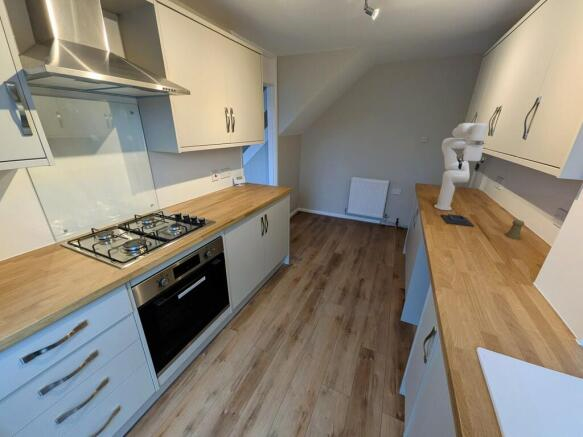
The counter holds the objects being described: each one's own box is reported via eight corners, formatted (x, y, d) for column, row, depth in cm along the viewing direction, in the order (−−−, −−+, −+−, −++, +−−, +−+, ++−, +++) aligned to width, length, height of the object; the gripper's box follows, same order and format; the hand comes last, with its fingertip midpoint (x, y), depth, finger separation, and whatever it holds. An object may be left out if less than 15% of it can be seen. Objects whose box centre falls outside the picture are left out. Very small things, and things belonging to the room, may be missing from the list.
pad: (441, 215, 181) (442, 212, 180) (465, 218, 176) (466, 214, 175) (446, 223, 166) (448, 219, 165) (473, 226, 162) (474, 222, 161)
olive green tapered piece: (521, 239, 145) (528, 222, 141) (510, 238, 146) (517, 221, 142) (515, 235, 151) (521, 219, 146) (504, 234, 152) (510, 218, 147)
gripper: (488, 143, 156) (480, 169, 162) (458, 142, 161) (451, 167, 167) (493, 144, 150) (484, 171, 156) (461, 143, 155) (454, 169, 161)
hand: (467, 169), depth 162 cm, fingers open, 9 cm apart
